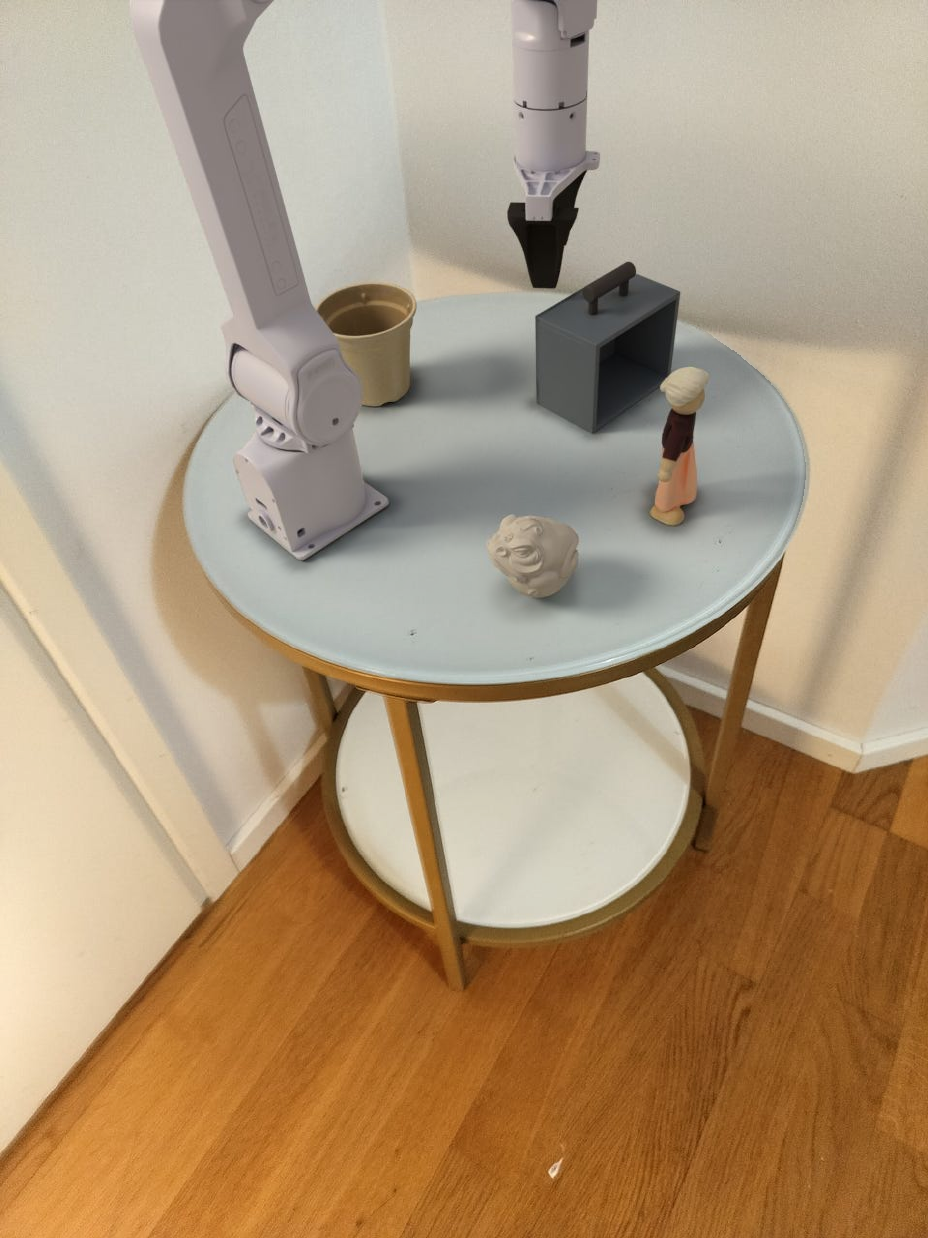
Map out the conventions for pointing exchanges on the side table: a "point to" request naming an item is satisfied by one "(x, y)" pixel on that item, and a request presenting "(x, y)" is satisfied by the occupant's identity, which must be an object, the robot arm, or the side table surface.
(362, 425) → the side table surface
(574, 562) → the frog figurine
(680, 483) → the grandmother figurine
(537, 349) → the basket
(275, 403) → the robot arm
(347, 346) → the flower pot
